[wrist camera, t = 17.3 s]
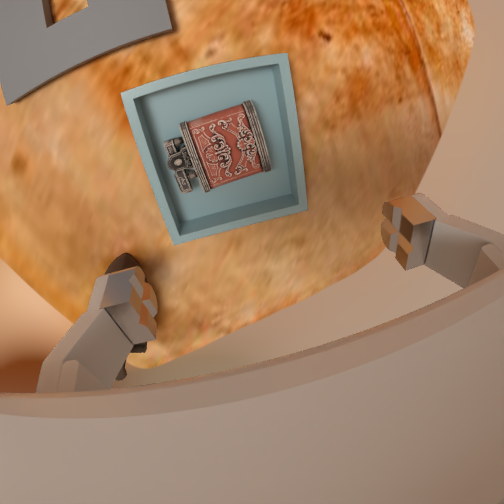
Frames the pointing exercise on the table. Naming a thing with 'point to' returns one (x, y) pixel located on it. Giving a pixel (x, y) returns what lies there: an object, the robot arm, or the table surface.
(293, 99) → the parts tray
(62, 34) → the gray plate with hole
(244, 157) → the lighter
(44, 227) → the table surface
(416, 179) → the table surface
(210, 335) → the table surface
